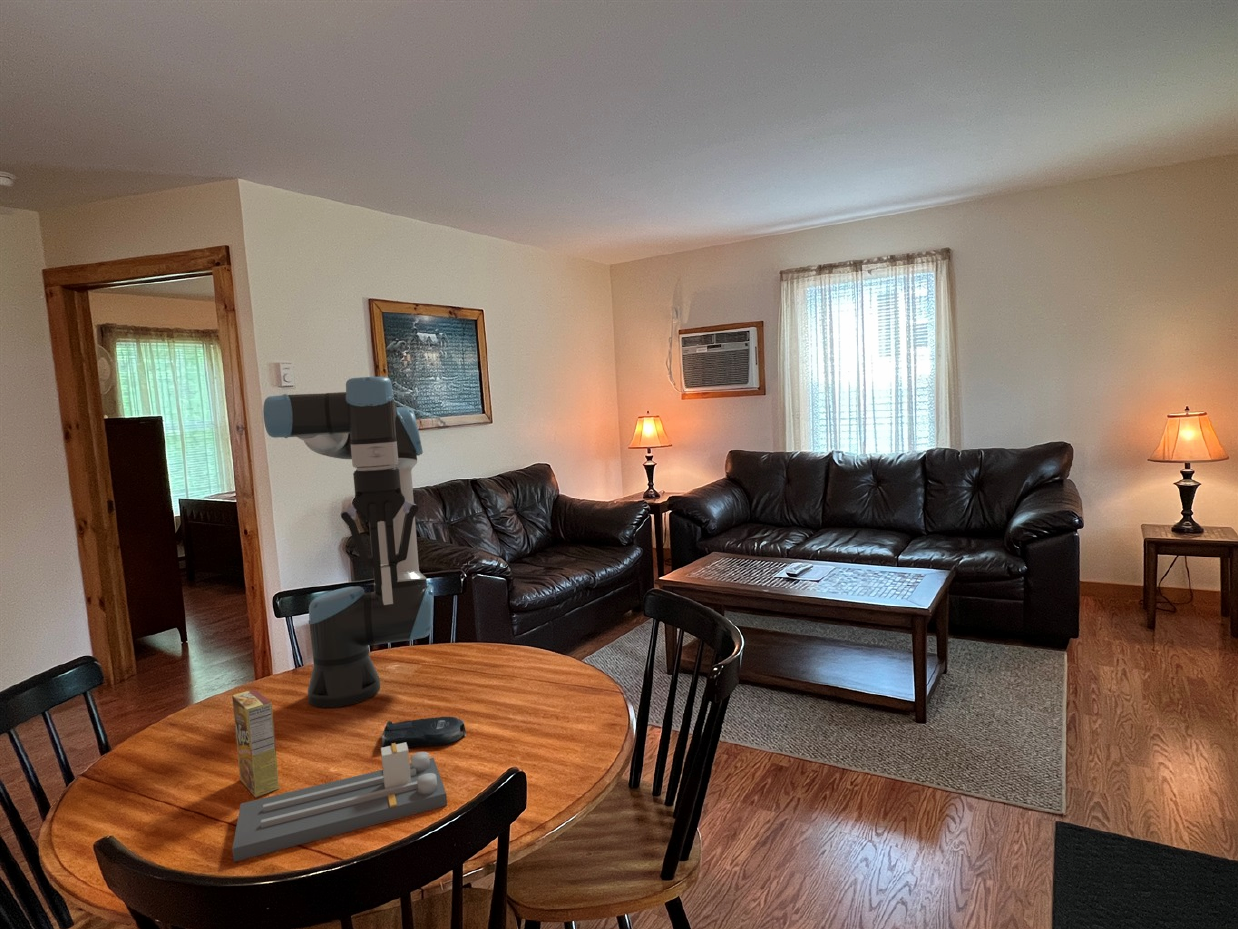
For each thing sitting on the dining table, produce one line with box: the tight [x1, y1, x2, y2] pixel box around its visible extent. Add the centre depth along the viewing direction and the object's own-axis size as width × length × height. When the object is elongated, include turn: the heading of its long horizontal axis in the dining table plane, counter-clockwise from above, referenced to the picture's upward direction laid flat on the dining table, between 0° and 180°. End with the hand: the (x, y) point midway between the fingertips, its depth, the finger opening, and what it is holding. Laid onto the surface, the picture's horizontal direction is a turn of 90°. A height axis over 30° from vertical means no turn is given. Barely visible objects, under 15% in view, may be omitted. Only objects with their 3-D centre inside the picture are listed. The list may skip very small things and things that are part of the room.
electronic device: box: [381, 716, 467, 748], centre depth 138 cm, size 9×6×15 cm
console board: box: [232, 751, 448, 863], centre depth 114 cm, size 13×30×4 cm, turn 113°
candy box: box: [232, 688, 280, 799], centre depth 123 cm, size 9×4×15 cm, turn 43°
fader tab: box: [380, 742, 411, 789], centre depth 117 cm, size 3×4×6 cm
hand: (387, 602), depth 125 cm, fingers closed
